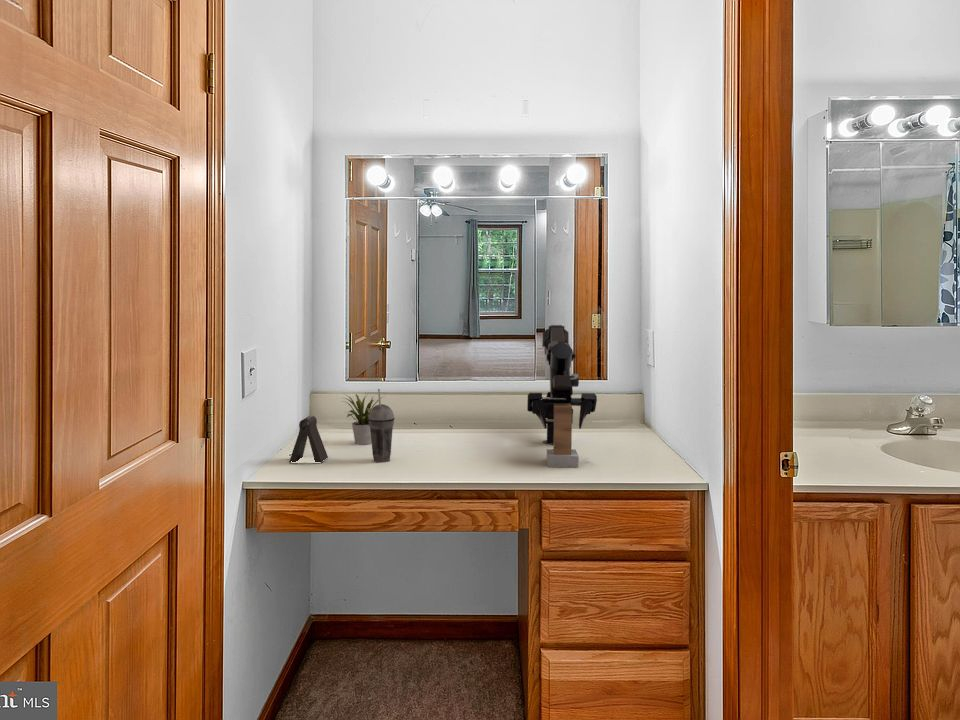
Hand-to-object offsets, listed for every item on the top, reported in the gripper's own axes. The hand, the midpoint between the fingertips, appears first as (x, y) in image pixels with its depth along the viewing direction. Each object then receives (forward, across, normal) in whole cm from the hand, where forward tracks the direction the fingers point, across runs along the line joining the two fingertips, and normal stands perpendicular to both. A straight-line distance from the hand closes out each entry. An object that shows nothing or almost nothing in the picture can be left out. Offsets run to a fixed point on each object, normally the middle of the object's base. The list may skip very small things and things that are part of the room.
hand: (562, 427), depth 181 cm
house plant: (-10, -60, +24) cm, 66 cm away
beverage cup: (+6, -49, +9) cm, 51 cm away
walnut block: (+4, 0, +6) cm, 7 cm away
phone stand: (+6, -69, +8) cm, 70 cm away
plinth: (+6, 0, +8) cm, 10 cm away
